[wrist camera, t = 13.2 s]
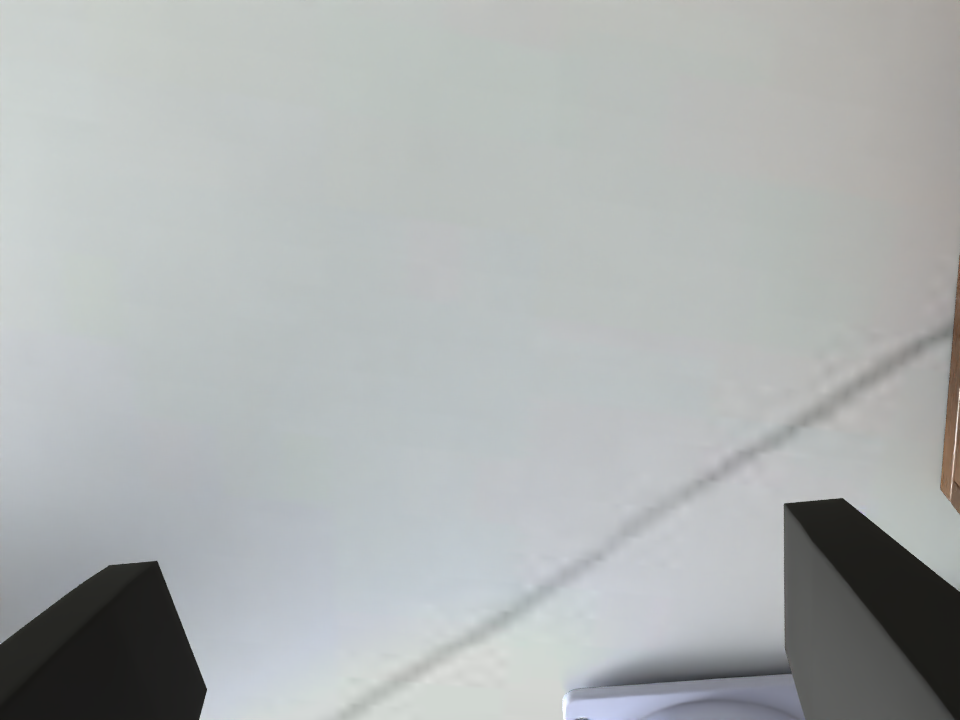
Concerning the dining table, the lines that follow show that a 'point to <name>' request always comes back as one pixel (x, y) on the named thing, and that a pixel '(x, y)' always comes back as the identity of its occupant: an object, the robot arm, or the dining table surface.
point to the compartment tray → (953, 418)
